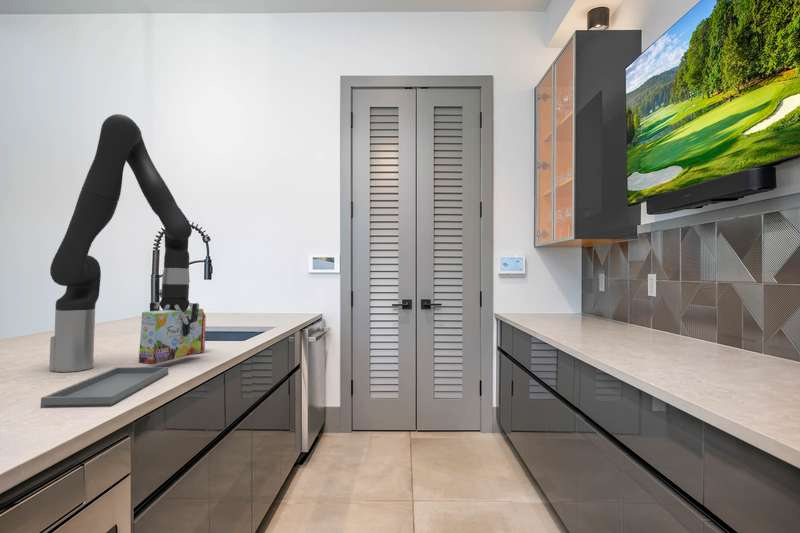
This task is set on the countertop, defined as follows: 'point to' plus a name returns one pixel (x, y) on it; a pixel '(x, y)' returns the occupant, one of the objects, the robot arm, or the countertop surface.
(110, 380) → the tray
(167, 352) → the snack box
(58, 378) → the countertop surface
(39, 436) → the countertop surface
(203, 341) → the soda can
